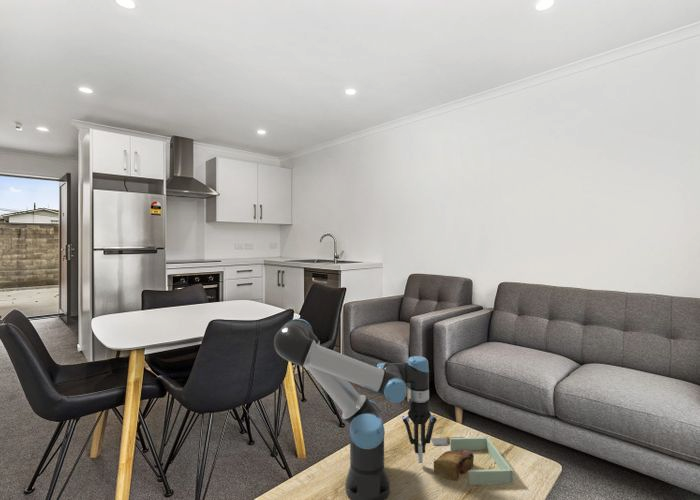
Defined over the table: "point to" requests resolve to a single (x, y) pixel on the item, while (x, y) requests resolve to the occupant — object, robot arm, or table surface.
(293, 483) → the table surface
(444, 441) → the trowel
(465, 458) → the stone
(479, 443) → the mint green u-channel
